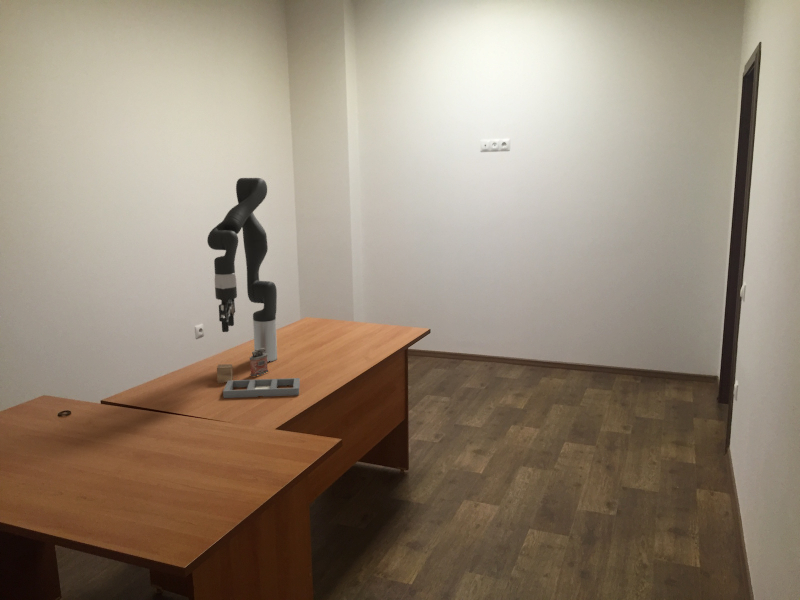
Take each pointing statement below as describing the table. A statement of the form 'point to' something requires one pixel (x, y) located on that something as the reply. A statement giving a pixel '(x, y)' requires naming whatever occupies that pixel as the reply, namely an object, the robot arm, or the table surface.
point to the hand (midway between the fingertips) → (228, 328)
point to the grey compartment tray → (261, 387)
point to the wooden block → (224, 373)
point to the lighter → (258, 362)
